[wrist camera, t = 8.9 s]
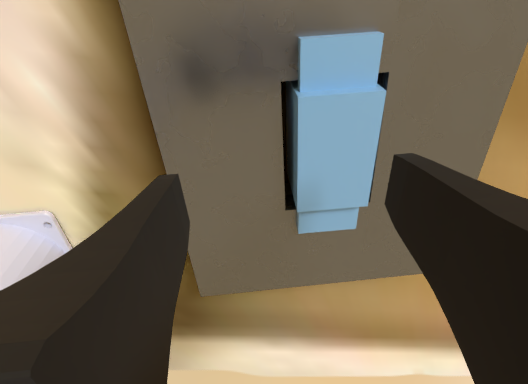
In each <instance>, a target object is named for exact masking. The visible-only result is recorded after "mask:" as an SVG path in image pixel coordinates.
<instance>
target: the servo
mask: <svg viewBox="0 0 528 384" xmlns="http://www.w3.org/2000/svg"><path fill="white" fill-rule="evenodd" d="M383 38H384V33H382V32H379V31H377V32H363V33H348V34H334V35H320V36H306V37H298V80H294V81H286V143H287V175H288V179H289V183H290V186H291V190H292V194H293V198H294V202H295V206H296V210H297V230H298V234H302V233H313V232H325V231H336V230H347V229H356V225H357V218H358V211H359V207H364V206H368V201H369V195H370V189H371V183H372V177H373V171H374V165H375V158H376V152H377V146H378V140H379V134H380V128H381V122H382V115H383V109H384V103H385V97H386V90H385V89H384V88H382V87H381V86H380V85H379V84H377V80H378V73H379V66H380V59H381V52H382V45H383Z"/></svg>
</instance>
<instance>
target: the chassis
mask: <svg viewBox="0 0 528 384" xmlns="http://www.w3.org/2000/svg"><path fill="white" fill-rule="evenodd" d="M118 1H119V5H120V8H121V12H122V15H123V19H124V23H125V26H126V30H127V33H128V37H129V41H130V44H131V48H132V51H133V55H134V59H135V62H136V66H137V69H138V73H139V77H140V80H141V84H142V87H143V91H144V95H145V98H146V102H147V105H148V109H149V112H150V116H151V120H152V123H153V127H154V130H155V134H156V138H157V141H158V145H159V148H160V152H161V156H162V159H163V163H164V166H165V170H166V174H167V175H169V174H178V175H179V179H180V183H181V187H182V191H183V195H184V199H185V203H186V208H187V212H188V216H189V220H190V230H189V243H188V253H189V256H190V260H191V263H192V267H193V271H194V274H195V278H196V281H197V285H198V289H199V292H200V296H201V297H203V296H213V295H222V294H232V293H242V292H251V291H261V290H270V289H280V288H289V287H299V286H309V285H318V284H328V283H337V282H347V281H356V280H366V279H376V278H385V277H395V276H404V275H414V274H423V273H422V271H421V270H420V268H419V266H418V265H417V263H416V262H415V260H414V258H413V257H412V255H411V254H410V252H409V250H408V249H407V247H406V246H405V244H404V242H403V241H402V239H401V238H400V236H399V234H398V233H397V231H396V229H395V228H394V225H393V223H392V221H391V219H390V216H389V214H388V211H387V209H386V207H385V204H384V203H385V198H386V193H387V188H388V182H389V177H390V172H391V167H392V161H393V156H394V154H406V153H414V154H417V155H420V156H422V157H425V158H427V159H430V160H432V161H435V162H437V163H439V164H441V165H444V166H446V167H448V168H450V169H453V170H455V171H457V172H460V173H462V174H464V175H466V176H469V177H471V178H473V179H476V180H477V179H478V176H479V173H480V171H481V168H482V165H483V163H484V160H485V157H486V154H487V152H488V149H489V146H490V143H491V141H492V138H493V135H494V132H495V130H496V127H497V124H498V121H499V119H500V116H501V113H502V111H503V108H504V105H505V102H506V100H507V97H508V94H509V91H510V89H511V86H512V83H513V80H514V78H515V75H516V72H517V70H518V67H519V64H520V61H521V59H522V56H523V53H524V50H525V48H526V45H527V42H528V0H118ZM377 31H379V32H382V33H384V38H383V45H382V52H381V59H380V66H379V73H378V80H377V84H379V85H380V86H381V87H382V88H384V89H385V90H386V97H385V103H384V109H383V115H382V122H381V128H380V134H379V140H378V146H377V152H376V158H375V165H374V171H373V177H372V183H371V189H370V195H369V201H368V206H364V207H359V211H358V218H357V225H356V229H347V230H336V231H325V232H313V233H302V234H298V230H297V210H296V206H295V202H294V198H293V194H292V190H291V186H290V183H284V160H283V132H282V105H281V82H283V81H294V80H298V37H306V36H320V35H334V34H348V33H363V32H377Z"/></svg>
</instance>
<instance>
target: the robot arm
mask: <svg viewBox="0 0 528 384" xmlns="http://www.w3.org/2000/svg"><path fill="white" fill-rule="evenodd" d="M384 204H385V207H386V209H387V211H388V214H389V216H390V219H391V221H392V223H393V225H394V228H395V229H396V231H397V233H398V234H399V236H400V238H401V239H402V241H403V242H404V244H405V246H406V247H407V249H408V250H409V252H410V254H411V255H412V257H413V258H414V260H415V262H416V263H417V265H418V266H419V268H420V270H421V271H422V273H423V274H424V276H425V277H426V279H427V281H428V282H429V284H430V286H431V288H432V290H433V291H434V293H435V295H436V297H437V299H438V301H439V303H440V306H441V308H442V310H443V312H444V314H445V316H446V318H447V320H448V322H449V324H450V327H451V329H452V331H453V333H454V336H455V338H456V340H457V342H458V345H459V347H460V349H461V352H462V354H463V356H464V359H465V361H466V364H467V366H468V369H469V371H470V374H471V376H472V379H473V381H474V383H475V384H528V199H526V198H523V197H520V196H517V195H514V194H511V193H508V192H506V191H503V190H501V189H498V188H496V187H493V186H490V185H488V184H485V183H483V182H481V181H478V180H476V179H473V178H471V177H469V176H466V175H464V174H462V173H460V172H457V171H455V170H453V169H450V168H448V167H446V166H444V165H441V164H439V163H437V162H435V161H432V160H430V159H427V158H425V157H422V156H420V155H417V154H414V153H406V154H394V156H393V161H392V167H391V172H390V177H389V182H388V188H387V193H386V198H385V203H384ZM48 223H50V224H51V225H50V224H48ZM189 230H190V220H189V216H188V212H187V208H186V203H185V199H184V195H183V191H182V187H181V183H180V179H179V175H178V174H169V175H160V176H158V177H157V178H156V179H155V180H154V181H153V182H151V183H150V184H149V185H148V186H147V187H146V188H145V189H144V190H143V191H142V192H141V193H140V194H139V195H138V196H137V197H136V198H135V199H133V200H132V201H131V202H130V203H129V204H128V205H127V206H126V207H125V208H124V209H123V210H121V211H120V212H119V213H118V214H117V215H116V216H114V217H113V218H112V219H111V220H110V221H108V222H107V223H106V224H105V225H104V226H103V227H101V228H100V229H99V230H98V231H96V232H95V233H94V234H92V235H91V236H90V237H88V238H87V239H86V240H84V241H83V242H81V243H80V244H78V245H77V246H76V247H74V248H72V246H71V245H70V243H69V241H68V239H67V238H66V236H65V234H64V232H63V230H62V229H61V227H60V225H59V223H58V221H57V220H56V218H55V216H54V215H53V214H52V213H51V212H49V211H35V212H24V213H14V214H4V215H0V384H167V377H168V366H169V355H170V345H171V336H172V326H173V318H174V312H175V306H176V302H177V297H178V292H179V288H180V283H181V279H182V274H183V270H184V265H185V260H186V256H187V251H188V243H189Z"/></svg>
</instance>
